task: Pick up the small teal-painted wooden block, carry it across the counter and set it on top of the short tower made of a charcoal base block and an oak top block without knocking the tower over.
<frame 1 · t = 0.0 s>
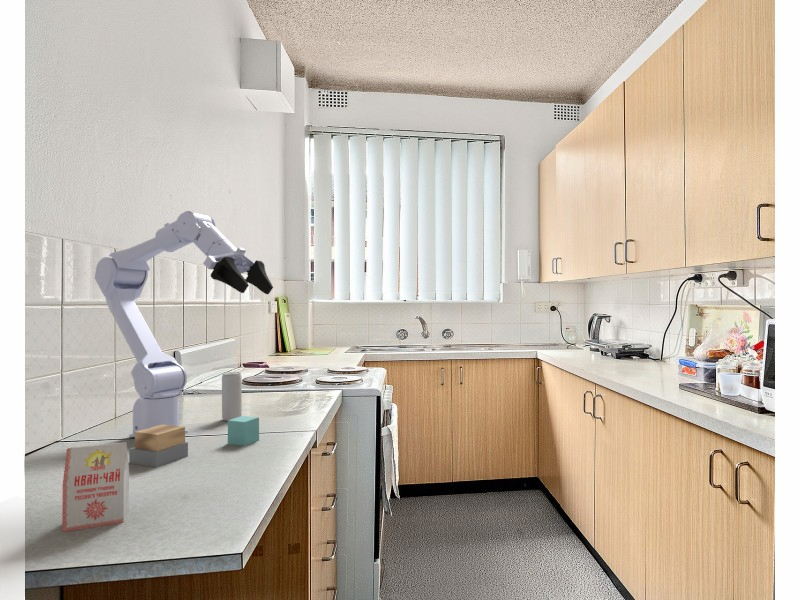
hand: (258, 290, 95), 32 cm above the counter, tool tilted 50°, fingers open, 7 cm apart
teal block: (243, 442, 98), on the counter
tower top: (160, 445, 88), point 3 cm above the counter, touching tower base
tea box: (97, 522, 61), on the counter
tower base: (159, 461, 87), on the counter, touching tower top
beverage can: (231, 420, 120), on the counter
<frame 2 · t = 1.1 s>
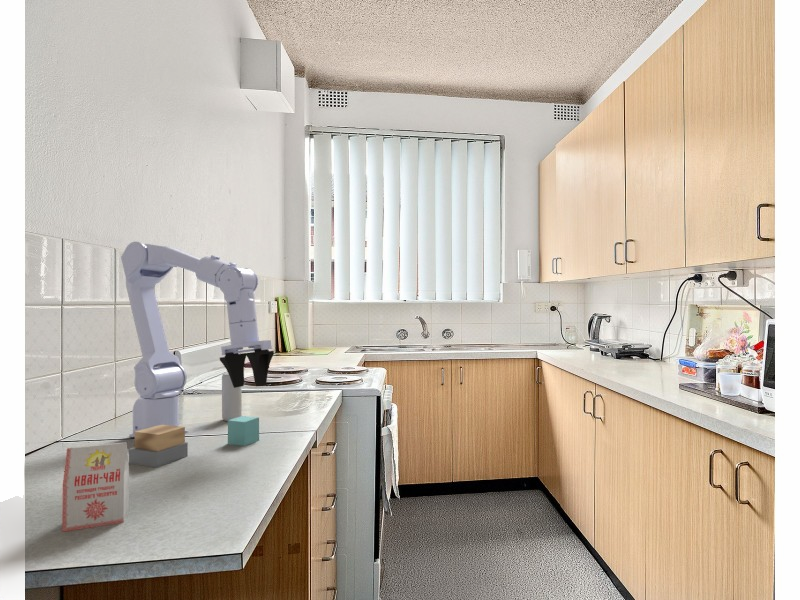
hand: (249, 386, 98), 12 cm above the counter, tool pointing down, fingers open, 7 cm apart
nothing on the counter moved.
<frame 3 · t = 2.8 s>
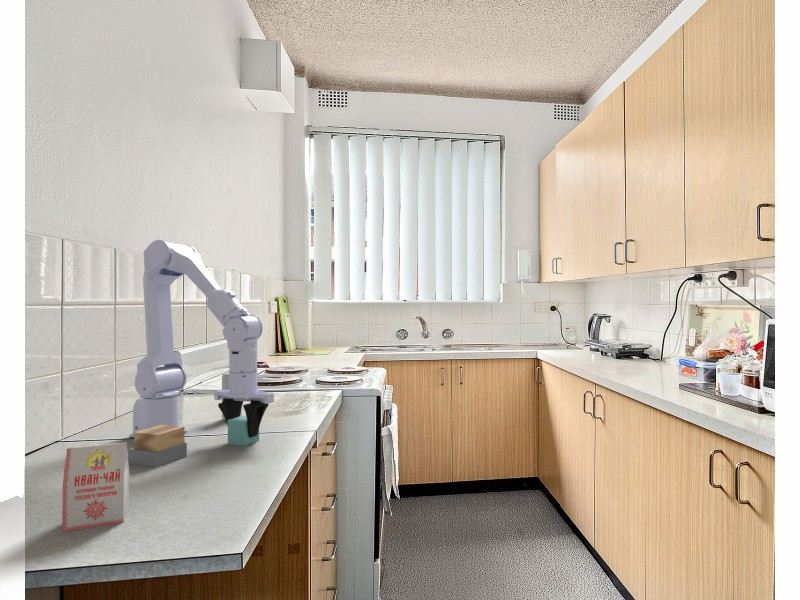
hand: (243, 435, 99), 1 cm above the counter, tool pointing down, fingers closed on teal block, 4 cm apart
teal block: (243, 442, 98), on the counter, touching gripper
everything else where it was.
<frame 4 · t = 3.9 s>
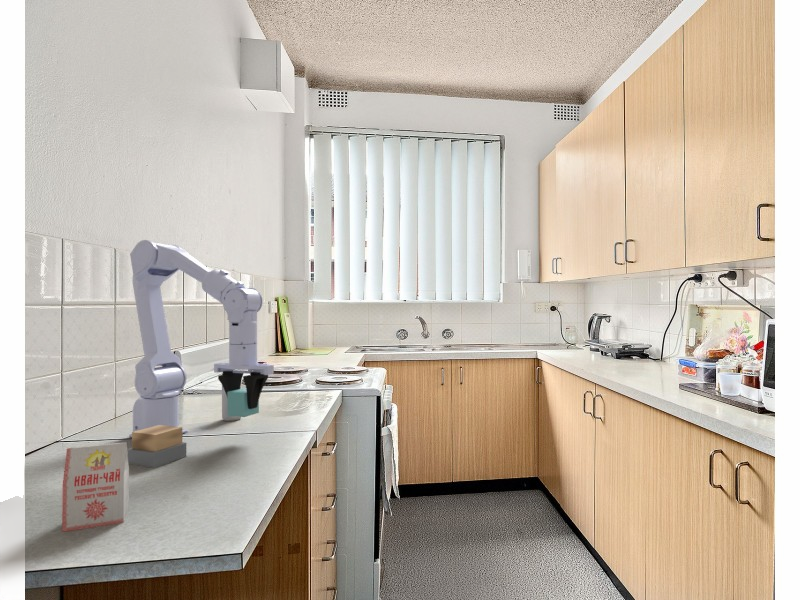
hand: (243, 407, 99), 7 cm above the counter, tool pointing down, fingers closed on teal block, 4 cm apart
teal block: (243, 414, 99), point 6 cm above the counter, touching gripper
everything else where it was.
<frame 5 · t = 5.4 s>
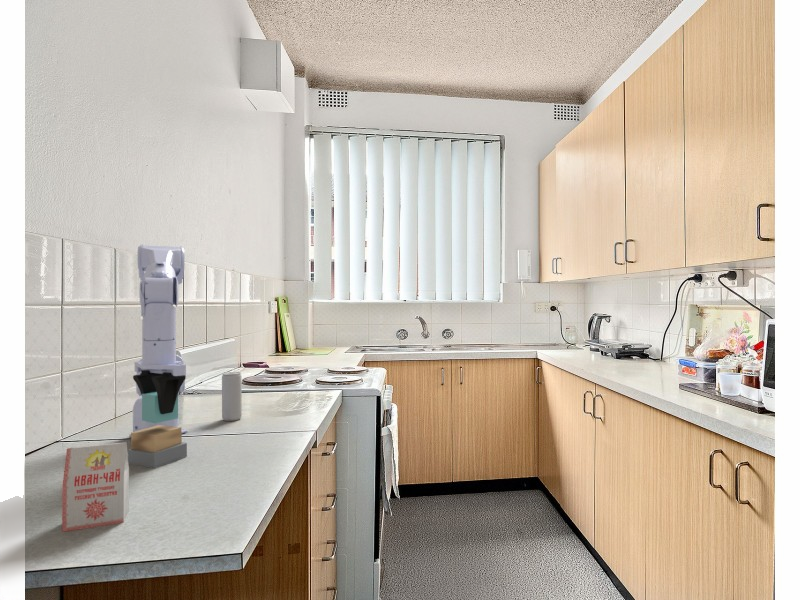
hand: (159, 411, 88), 9 cm above the counter, tool pointing down, fingers closed on teal block, 4 cm apart
teal block: (160, 419, 88), point 7 cm above the counter, touching gripper
everything else where it was.
when the fingers open (8 cm above the counter, at t = 6.0 s): teal block drops 1 cm, point 6 cm above the counter.
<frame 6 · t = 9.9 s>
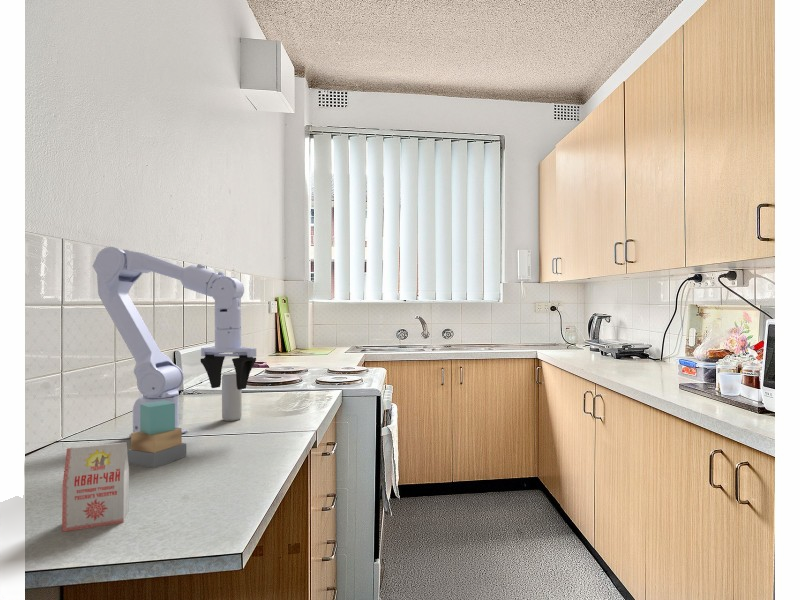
hand: (228, 388, 106), 10 cm above the counter, tool pointing down, fingers open, 7 cm apart
teal block: (157, 430, 87), point 6 cm above the counter
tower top: (156, 446, 87), point 3 cm above the counter
tower base: (157, 462, 87), on the counter
everything else where it was.
at the end: teal block 0.2 cm off-centre on the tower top, point 3.0 cm above the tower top's base; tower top 0.2 cm off-centre on the tower base, point 3.0 cm above the tower base's base; the gripper is holding nothing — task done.
